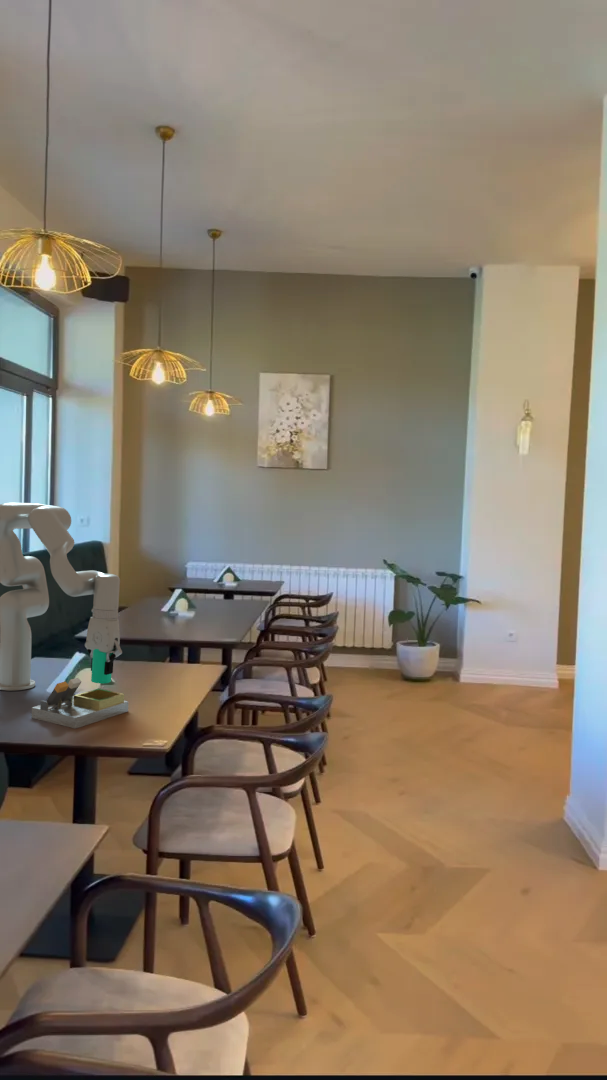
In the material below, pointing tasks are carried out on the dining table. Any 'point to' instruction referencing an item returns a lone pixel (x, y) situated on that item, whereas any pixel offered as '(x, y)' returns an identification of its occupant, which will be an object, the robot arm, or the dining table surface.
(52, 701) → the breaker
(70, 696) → the block
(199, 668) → the dining table surface
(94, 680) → the candle
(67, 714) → the panel
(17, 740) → the dining table surface
